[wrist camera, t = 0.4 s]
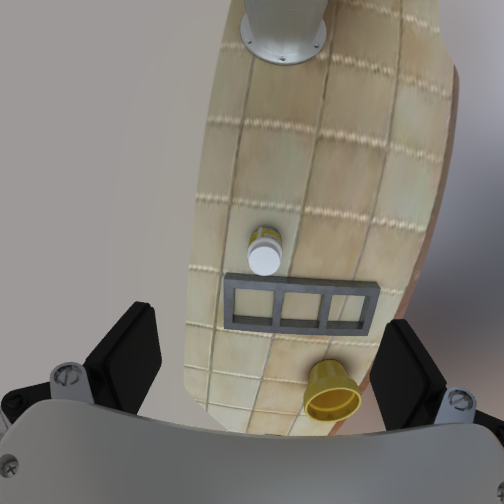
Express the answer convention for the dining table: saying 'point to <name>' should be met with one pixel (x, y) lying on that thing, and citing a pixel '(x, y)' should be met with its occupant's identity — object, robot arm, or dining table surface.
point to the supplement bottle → (265, 251)
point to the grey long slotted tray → (300, 286)
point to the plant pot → (330, 393)
